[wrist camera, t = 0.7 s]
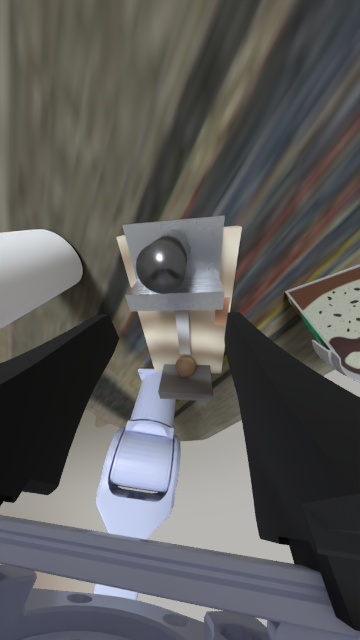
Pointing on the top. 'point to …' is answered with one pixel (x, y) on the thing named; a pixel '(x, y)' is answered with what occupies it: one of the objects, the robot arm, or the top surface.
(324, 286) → the food container
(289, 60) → the top surface
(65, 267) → the can
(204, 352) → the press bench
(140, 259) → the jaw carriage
